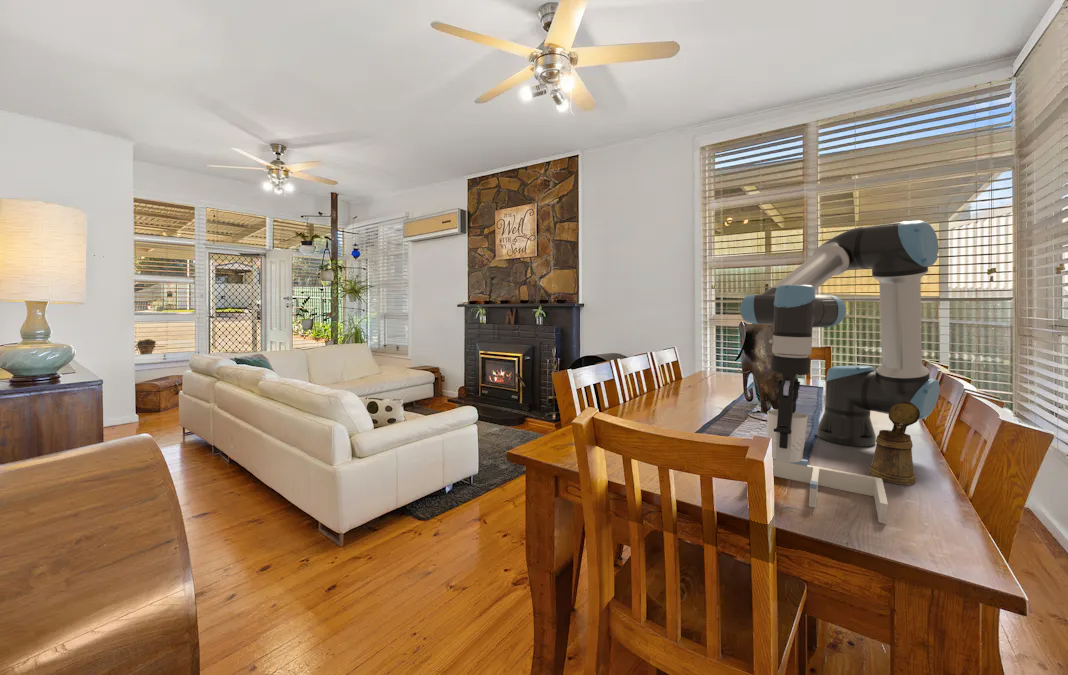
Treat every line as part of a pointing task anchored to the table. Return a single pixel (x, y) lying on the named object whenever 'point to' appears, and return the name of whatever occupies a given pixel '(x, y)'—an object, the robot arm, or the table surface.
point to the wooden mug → (896, 447)
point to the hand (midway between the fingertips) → (784, 456)
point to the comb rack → (834, 482)
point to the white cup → (797, 432)
